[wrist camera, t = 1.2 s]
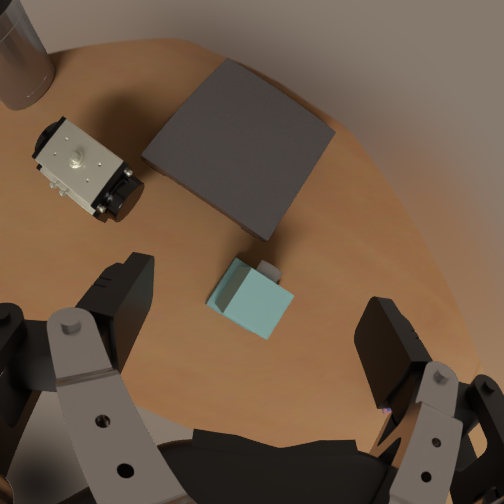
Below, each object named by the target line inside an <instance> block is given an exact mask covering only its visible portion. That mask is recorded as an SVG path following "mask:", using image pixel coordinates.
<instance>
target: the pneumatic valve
mask: <svg viewBox="0 0 504 504" xmlns="http://www.w3.org/2000/svg"><path fill="white" fill-rule="evenodd" d="M32 158H34V159H35V160H36V161H37V162H38V163H39V164H38V166H37V167H36V168H37V169H38V170H39V171H40V172H41V173H42V174H44V175H45V176H46V177H47V178H48V179H49V180H50V181H52V182H53V183H52V182H50V184H49V185H50V186H51V187H52V188H54V189H56V187H59V188H60V189H61V190H60V191H59V194H60V195H62V196H63V197H65V196H66V195H68V196H69V197H71V198H72V199H73V200H74V201H75V202H77V203H78V204H79V205H80V206H81V207H83V208H84V209H85V210H86V211H88V212H89V213H90V214H91V215H93V216H94V217H95V218H96V219H98V220H100V221H102V222H104V223H105V222H106V221H107V220H108V218H110V219H112V220H114V221H115V222H120V221H121V220H123V219H124V218H125V217H126V216H127V215H128V214H129V212H130V211H131V210H132V209H133V207H134V206H135V204H136V203H137V201H138V200H139V198H140V196H141V195H142V193H143V190H144V183H143V182H141V181H140V180H138V179H137V178H136V177H135V175H134V173H133V171H132V169H131V167H130V166H129V164H127V163H126V162H125V161H123V160H122V159H121V158H119V157H118V156H116V155H115V154H114V153H112V152H111V151H110V150H108V149H107V148H106V147H104V146H103V145H102V144H100V143H99V142H97V141H96V140H95V139H93V138H92V137H91V136H89V135H88V134H87V133H85V132H84V131H83V130H81V129H80V128H78V127H77V126H76V125H74V124H73V123H72V122H70V121H69V120H68V119H66V118H65V117H64V116H62V118H61V119H60V120H59V121H58V122H55V123H53V124H51V125H50V126H48V127H47V128H46V129H45V130H44V131H43V132H42V134H41V135H40V136H39V138H38V140H37V143H36V145H35V152H34V154H33V155H32Z"/></svg>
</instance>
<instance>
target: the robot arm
mask: <svg viewBox="0 0 504 504" xmlns="http://www.w3.org/2000/svg"><path fill="white" fill-rule="evenodd" d="M54 72H55V70H54V65H53V63H52V61H51V59H50V58H49V56H48V54H47V52H46V50H45V48H44V46H43V45H42V43H41V41H40V39H39V37H38V35H37V33H36V32H35V30H34V28H33V26H32V24H31V22H30V20H29V18H28V16H27V14H26V12H25V10H24V8H23V6H22V4H21V2H20V0H0V100H1V101H2V102H3V103H4V104H5V105H6V106H7V107H8V108H10V109H13V110H19V109H24V108H26V107H28V106H30V105H32V104H33V103H35V102H36V101H37V100H38V99H39V98H41V96H42V95H43V94H44V93H45V92H46V91H47V89H48V88H49V86H50V84H51V83H52V80H53V77H54ZM153 281H154V256H151V255H146V254H141V253H137V252H133V253H132V254H131V255H130V256H129V257H128V259H127V260H126V261H125V263H124V264H121V263H115V264H113V265H111V266H109V267H108V268H106V269H105V270H104V271H103V272H102V274H101V275H100V276H99V278H97V280H96V281H95V282H94V284H93V285H92V286H91V287H90V288H89V290H88V291H87V292H86V293H85V295H84V296H83V297H82V298H81V300H80V301H79V302H78V304H77V305H76V306H75V307H70V308H64V309H61V310H58V311H56V312H55V313H53V314H52V315H51V316H50V318H49V319H48V321H37V320H25V319H24V316H23V312H22V310H21V308H20V307H19V306H17V305H16V304H13V303H0V375H1V373H2V372H3V373H2V375H1V376H0V504H14V503H13V502H14V495H13V490H12V487H11V485H10V483H9V482H8V480H7V479H6V476H7V473H8V470H9V467H10V464H11V462H12V459H13V457H14V454H15V451H16V449H17V446H18V444H19V441H20V439H21V437H22V434H23V432H24V429H25V427H26V425H27V422H28V420H29V418H30V416H31V414H32V411H33V409H34V407H35V405H36V402H37V401H38V399H39V396H40V394H41V392H42V391H50V392H57V394H58V397H59V401H60V405H61V409H62V412H63V416H64V419H65V422H66V426H67V429H68V432H69V435H70V438H71V441H72V444H73V447H74V450H75V452H76V455H77V458H78V460H79V463H80V466H81V468H82V471H83V473H84V476H85V478H86V480H87V483H88V485H89V486H88V487H86V488H85V489H83V490H81V491H79V492H78V493H76V494H74V495H72V496H70V497H69V498H67V499H65V500H63V501H61V502H59V503H57V504H445V503H446V499H447V496H448V492H449V490H450V494H451V498H452V501H453V504H504V395H503V393H502V391H501V389H500V388H499V386H498V384H497V383H496V382H495V381H494V380H493V379H492V378H490V377H488V376H486V375H482V374H480V375H477V376H476V377H475V379H474V380H473V381H472V382H471V384H466V383H462V382H458V378H457V376H456V374H455V373H454V371H453V370H452V369H451V368H450V367H448V366H447V365H445V364H443V363H441V362H437V361H433V360H432V359H431V357H430V355H429V353H428V352H427V350H426V348H425V347H424V345H423V343H422V342H421V340H420V339H419V337H418V335H417V333H416V332H414V331H415V330H414V328H413V327H412V325H411V323H410V322H409V321H408V320H407V319H406V318H405V317H404V316H403V315H402V314H401V313H400V311H399V310H398V308H397V307H396V305H395V304H394V302H393V301H392V300H391V299H388V298H381V297H375V296H374V297H372V298H371V299H370V300H369V302H368V304H367V306H366V309H365V311H364V313H363V315H362V317H361V319H360V321H359V323H358V325H357V328H356V330H355V334H354V343H355V346H356V349H357V352H358V354H359V357H360V360H361V363H362V365H363V368H364V371H365V374H366V377H367V380H368V383H369V385H370V388H371V391H372V394H373V397H374V400H375V403H376V406H377V409H389V408H390V409H391V413H390V414H389V415H388V416H387V418H386V420H385V422H384V424H383V426H382V429H381V431H380V433H379V435H378V437H377V439H376V441H375V443H374V445H373V447H372V449H371V451H370V452H369V454H368V453H365V452H361V451H358V450H357V446H356V441H355V440H319V441H315V442H310V443H306V444H301V445H296V446H291V447H285V448H277V447H273V446H270V445H266V444H263V443H260V442H256V441H253V440H250V439H247V438H244V437H241V436H238V435H232V434H224V433H218V432H211V431H205V430H199V429H194V431H193V438H192V439H189V440H178V441H171V442H167V443H163V444H160V445H157V446H156V445H155V443H154V441H153V439H152V437H151V436H150V434H149V432H148V430H147V429H146V427H145V425H144V423H143V421H142V419H141V417H140V415H139V413H138V411H137V409H136V407H135V405H134V403H133V401H132V399H131V397H130V395H129V393H128V391H127V389H126V386H125V384H124V382H123V380H122V378H121V375H120V374H121V372H122V370H123V367H124V365H125V363H126V360H127V358H128V356H129V354H130V351H131V349H132V347H133V345H134V342H135V340H136V338H137V336H138V334H139V331H140V329H141V327H142V325H143V323H144V321H145V319H146V316H147V314H148V312H149V310H150V307H151V303H152V298H153ZM478 423H480V425H481V427H482V430H483V432H484V434H485V437H486V439H487V448H486V450H485V452H484V453H483V454H482V455H481V456H480V457H479V458H478V459H477V456H476V454H475V451H474V448H473V446H472V443H471V441H470V438H469V436H468V433H469V432H470V431H471V430H472V429H473V428H474V427H475V426H476V425H477V424H478Z"/></svg>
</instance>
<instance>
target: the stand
mask: <svg viewBox="0 0 504 504" xmlns="http://www.w3.org/2000/svg"><path fill="white" fill-rule="evenodd" d="M335 133H336V132H335V131H334V130H333V129H331V128H330V127H329V126H328V125H326V124H325V123H324V122H322V121H321V120H320V119H318V118H317V117H316V116H315V115H313V114H312V113H310V112H309V111H308V110H306V109H305V108H304V107H302V106H301V105H300V104H298V103H297V102H295V101H294V100H293V99H291V98H290V97H288V96H287V95H285V94H284V93H283V92H281V91H280V90H278V89H277V88H275V87H274V86H272V85H271V84H269V83H268V82H266V81H265V80H263V79H261V78H260V77H258V76H257V75H255V74H254V73H252V72H250V71H249V70H247V69H246V68H244V67H242V66H241V65H239V64H237V63H236V62H234V61H232V60H230V59H229V58H227V59H226V60H225V61H224V62H223V63H222V64H221V65H220V66H219V67H218V68H217V69H216V70H215V71H214V72H213V73H212V74H211V75H210V76H209V77H208V78H207V79H206V80H205V81H204V82H203V83H202V84H201V85H200V86H199V87H198V88H197V90H196V91H195V92H194V93H193V94H192V95H191V96H190V97H189V98H188V99H187V100H186V101H185V103H184V104H183V105H182V106H181V107H180V108H179V109H178V110H177V112H176V113H175V114H174V115H173V116H172V117H171V118H170V120H169V121H168V122H167V123H166V124H165V126H164V127H163V128H162V129H161V130H160V132H159V133H158V134H157V135H156V136H155V138H154V139H153V140H152V141H151V143H150V144H149V145H148V146H147V148H146V149H145V150H144V152H143V153H142V154H141V157H142V160H143V161H145V162H146V163H148V164H149V165H151V168H153V169H154V170H156V171H157V172H159V173H160V174H162V175H163V176H165V175H166V176H167V177H169V178H170V179H172V180H173V181H175V182H176V183H178V184H179V185H181V186H182V187H184V188H185V189H187V190H188V191H190V192H191V193H193V194H194V195H196V196H197V197H199V198H200V199H201V200H203V201H204V202H206V203H207V204H209V205H210V206H212V207H213V208H215V209H216V210H218V211H219V212H221V213H222V214H224V215H225V216H227V217H228V218H229V219H231V220H232V221H234V222H235V223H237V224H238V225H240V226H241V228H242V229H243V230H245V231H246V232H247V233H249V234H250V235H252V236H253V237H257V238H259V239H260V240H262V241H263V242H265V241H268V240H269V238H270V236H271V235H272V233H273V232H274V230H275V229H276V227H277V225H278V224H279V222H280V221H281V219H282V217H283V216H284V214H285V213H286V211H287V209H288V208H289V206H290V205H291V203H292V202H293V200H294V198H295V197H296V195H297V194H298V192H299V190H300V189H301V187H302V186H303V184H304V182H305V181H306V179H307V178H308V176H309V174H310V173H311V171H312V170H313V168H314V166H315V165H316V163H317V162H318V160H319V158H320V157H321V155H322V154H323V152H324V150H325V149H326V147H327V146H328V144H329V142H330V141H331V139H332V138H333V136H334V134H335Z"/></svg>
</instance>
